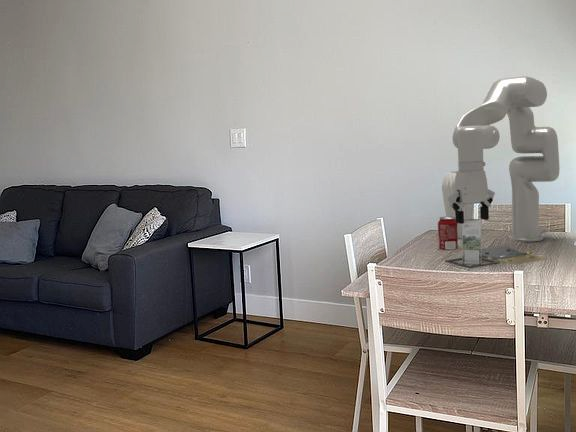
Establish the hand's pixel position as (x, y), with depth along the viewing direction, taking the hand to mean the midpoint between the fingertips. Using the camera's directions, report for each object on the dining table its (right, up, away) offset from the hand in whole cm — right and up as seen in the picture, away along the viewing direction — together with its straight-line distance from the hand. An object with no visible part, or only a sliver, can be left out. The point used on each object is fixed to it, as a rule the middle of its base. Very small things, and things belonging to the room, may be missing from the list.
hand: (472, 221), depth 193 cm
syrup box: (0, -14, +1) cm, 14 cm away
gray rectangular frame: (0, -14, +1) cm, 14 cm away
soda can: (-1, -11, +27) cm, 29 cm away
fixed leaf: (+16, -13, +3) cm, 21 cm away
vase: (+11, -7, +53) cm, 55 cm away
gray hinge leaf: (+12, -11, +11) cm, 20 cm away
